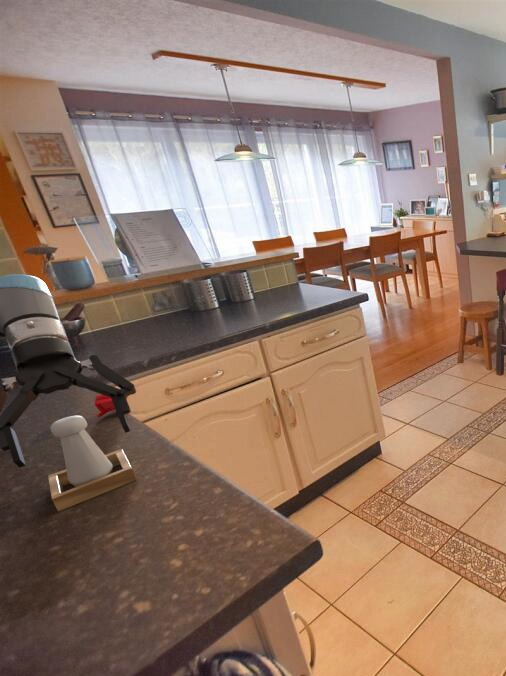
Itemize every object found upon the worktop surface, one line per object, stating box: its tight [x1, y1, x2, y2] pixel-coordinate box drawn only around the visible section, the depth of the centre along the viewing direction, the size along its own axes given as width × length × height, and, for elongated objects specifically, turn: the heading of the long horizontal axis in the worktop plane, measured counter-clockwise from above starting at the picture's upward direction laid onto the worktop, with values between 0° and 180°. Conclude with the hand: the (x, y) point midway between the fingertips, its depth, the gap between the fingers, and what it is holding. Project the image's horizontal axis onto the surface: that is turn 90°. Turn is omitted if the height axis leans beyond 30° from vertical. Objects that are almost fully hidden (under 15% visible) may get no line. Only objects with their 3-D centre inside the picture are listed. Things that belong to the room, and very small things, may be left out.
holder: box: [47, 448, 138, 513], centre depth 77 cm, size 10×10×2 cm
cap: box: [94, 393, 128, 418], centre depth 103 cm, size 8×6×6 cm
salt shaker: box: [50, 415, 114, 488], centre depth 75 cm, size 6×6×13 cm
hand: (76, 445), depth 75 cm, fingers open, 13 cm apart
